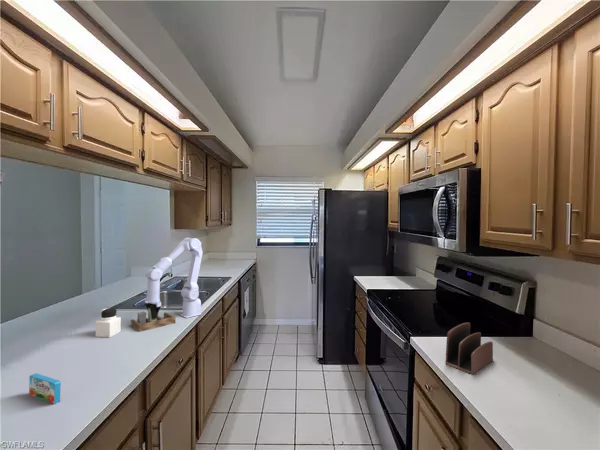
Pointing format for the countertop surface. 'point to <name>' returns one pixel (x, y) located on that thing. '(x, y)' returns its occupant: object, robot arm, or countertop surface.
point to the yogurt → (44, 388)
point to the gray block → (141, 317)
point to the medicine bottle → (108, 323)
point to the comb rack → (153, 322)
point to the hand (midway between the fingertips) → (153, 317)
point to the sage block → (150, 315)
